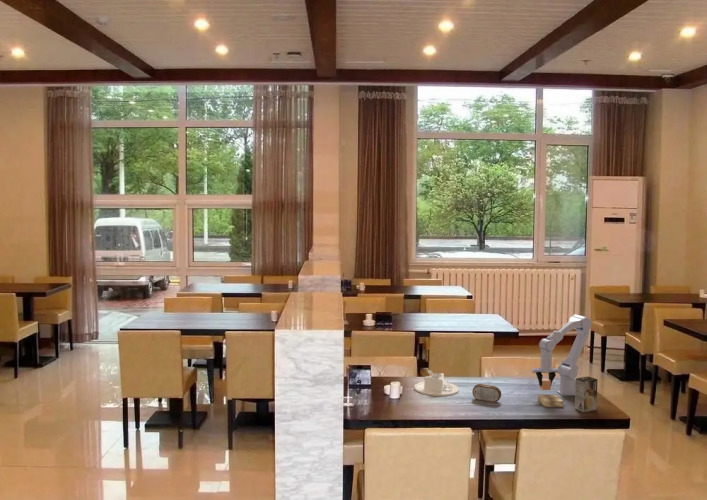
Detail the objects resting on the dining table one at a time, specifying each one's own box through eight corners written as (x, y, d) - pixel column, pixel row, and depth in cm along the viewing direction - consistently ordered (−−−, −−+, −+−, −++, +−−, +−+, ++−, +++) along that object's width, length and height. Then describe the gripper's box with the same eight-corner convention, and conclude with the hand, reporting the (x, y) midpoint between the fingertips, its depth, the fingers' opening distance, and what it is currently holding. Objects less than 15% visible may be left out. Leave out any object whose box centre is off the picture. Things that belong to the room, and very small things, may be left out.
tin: (501, 402, 340) (501, 386, 339) (499, 404, 337) (500, 388, 336) (473, 398, 346) (473, 382, 345) (471, 399, 343) (472, 384, 342)
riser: (556, 400, 344) (556, 395, 344) (563, 406, 334) (563, 401, 334) (537, 400, 344) (538, 394, 343) (544, 406, 334) (544, 400, 333)
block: (547, 387, 353) (548, 378, 352) (550, 390, 348) (550, 381, 348) (539, 387, 353) (539, 378, 352) (542, 390, 348) (542, 380, 348)
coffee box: (586, 406, 336) (588, 376, 334) (596, 410, 330) (598, 379, 328) (574, 408, 331) (575, 378, 330) (583, 412, 326) (585, 381, 324)
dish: (448, 399, 343) (449, 378, 342) (406, 391, 356) (407, 371, 355) (466, 388, 364) (466, 368, 363) (425, 380, 377) (426, 361, 376)
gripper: (556, 359, 353) (555, 383, 355) (530, 359, 353) (529, 383, 354) (561, 362, 346) (560, 387, 348) (534, 362, 346) (533, 387, 347)
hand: (545, 385), depth 350 cm, fingers closed on block, 4 cm apart
